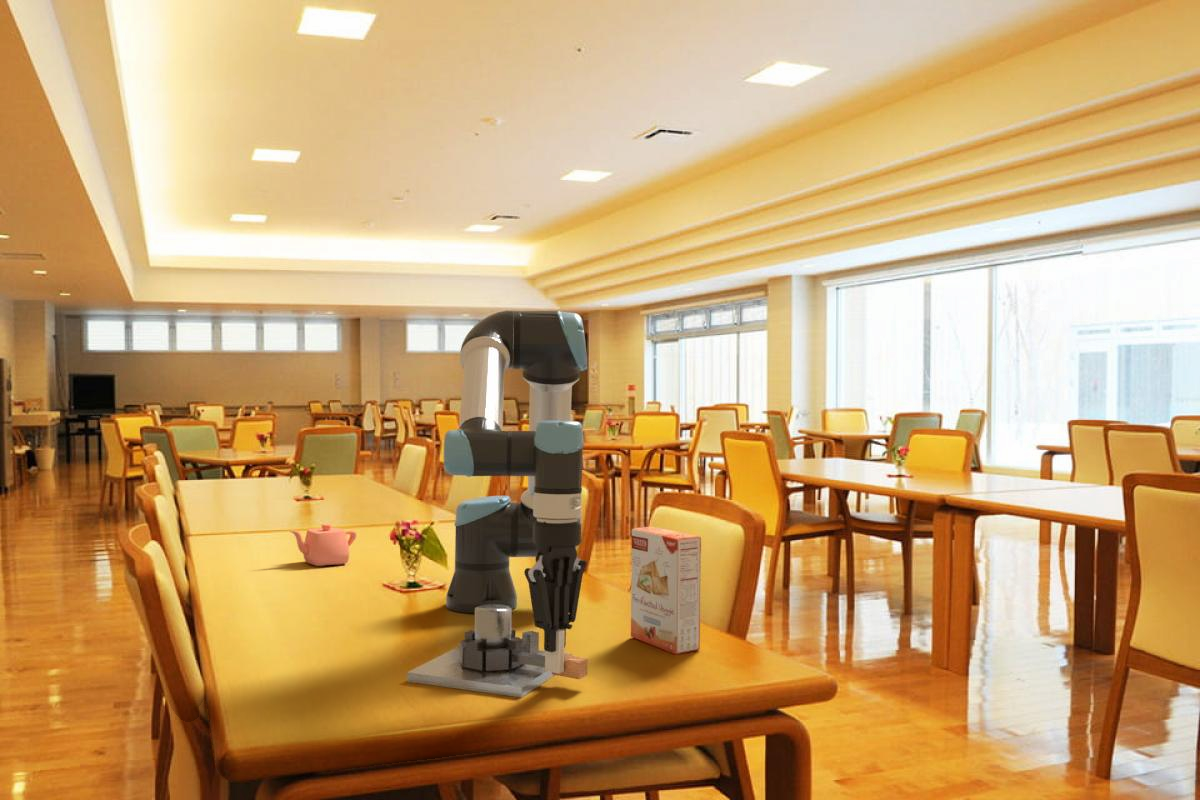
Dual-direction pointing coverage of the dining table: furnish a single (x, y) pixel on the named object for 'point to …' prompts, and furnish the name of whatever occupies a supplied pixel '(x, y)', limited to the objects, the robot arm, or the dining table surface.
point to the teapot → (325, 545)
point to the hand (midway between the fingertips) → (554, 670)
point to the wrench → (513, 657)
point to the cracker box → (666, 589)
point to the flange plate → (511, 682)
